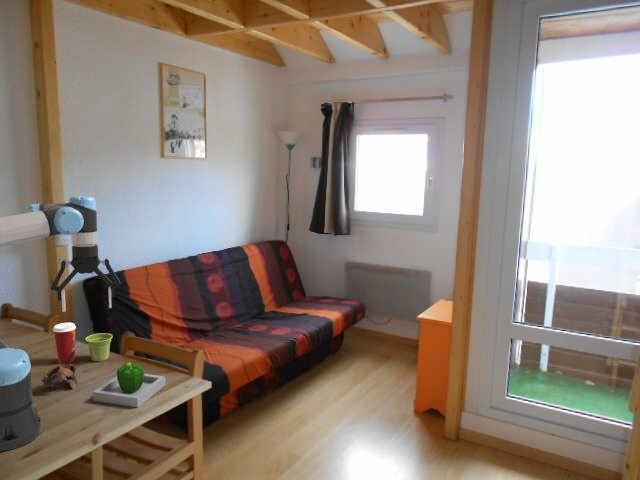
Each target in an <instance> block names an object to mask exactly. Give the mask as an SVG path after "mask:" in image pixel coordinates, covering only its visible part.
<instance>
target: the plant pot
mask: <svg viewBox="0 0 640 480" xmlns="http://www.w3.org/2000/svg"><path fill="white" fill-rule="evenodd" d="M112 339H113V334H111V333H105V332H103V333H94V334H91V335H88V336H86V337H85V342H87V345H88V350H89V353H90V354H89V355H90V359H91V361H92V362H103V361H106V360H108V358H109V357H110V348H111V342H112Z"/></svg>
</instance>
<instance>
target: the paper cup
mask: <svg viewBox="0 0 640 480" xmlns="http://www.w3.org/2000/svg"><path fill="white" fill-rule="evenodd" d="M76 328H77V326H76V325H75V323H73V322H62V323H58V324H55V325H54V327H53V328H52V331H53V335H54V342H55V349H56V355H57V362H58V363H59V364H71V363H73V362H74V361H75V359H76Z"/></svg>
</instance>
